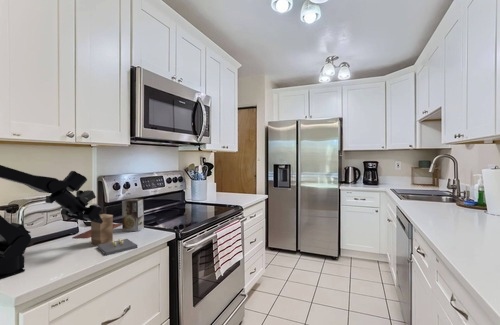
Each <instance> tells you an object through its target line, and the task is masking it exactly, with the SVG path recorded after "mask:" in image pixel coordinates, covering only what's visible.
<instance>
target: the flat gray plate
mask: <svg viewBox="0 0 500 325" xmlns="http://www.w3.org/2000/svg"><path fill="white" fill-rule="evenodd" d="M96 246H97V249H99V251H101V252H102V253H103V254H104V255H105V256H110V255H113V254H117V253H122V252H127V251H130V250H134V249H138V244H137V243H135V242H133V241H131V240H130V239H128V238H123V239H121V238H119V239H118V240H116V241H115V240H114V239H113V241H112V242H109V243H104V244H100V245H96Z"/></svg>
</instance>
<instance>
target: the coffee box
mask: <svg viewBox="0 0 500 325" xmlns="http://www.w3.org/2000/svg"><path fill="white" fill-rule="evenodd" d="M144 200H145V199H144V198H127V199H123V200H121V217H122V219H121V221H122V222H121V224H122V225H121V226H122V227H121V228H122V230H121V231H122V232H125V231H127V232H138V231H141V230H143V229H144V228H145V213H144V212H145V211H144V210H145V202H144Z"/></svg>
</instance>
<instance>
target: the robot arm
mask: <svg viewBox="0 0 500 325" xmlns="http://www.w3.org/2000/svg"><path fill="white" fill-rule="evenodd" d="M0 179H1V180H5V181H9V182H13V183H17V184H22V185H24V186H26V187H28V188H30V189H32V190H34V191H35V192H39V193H44V194H45V193H46V194H50V195H46V196H45V203H46V204H53V203H54V202H55V203H56V204H57V205H59V206H60V209H61V210H60V215H62V216H63V217H64V218H65V217H66V218H70V219H74V220H79V221H83V222H91V221H92V222H96V223H100V224H102V222H103V221H102V219H101V217H100V215H101V214H100V212H101V211H102V209H103V208H102V206H101V205H98V204H90V203H89V202H90V201H92V200H94V199H96V198H97V196H96V195H95V192H94V190H91V189H90V190H80V189H81V188H82V187H83V186H84V185H85V183H86V182H88V178H87V177H86V176H85V175H83V174H81V173H78V172H77V171H76V170H71V171H69V173H68V174H67V176H65V177H64V178H63V180H62V179H58V178H56V177H50V176H43V175H42V176H41V175H35V174H31V173H28V172H24V171H22V170H18V169H16V168H12V167H9V166H5V165H1V164H0ZM74 192H76V194H75V195H74V194H73V193H74ZM88 205H89V206H88ZM30 233H31V231H29V230H27V229H26V227H25V226H24V225H23V224H22V223H15V222H11V223H10V222H9V221H7V220H6V218H4V217H3V216H2V215H1V214H0V279H1V280H2V279H5V278H8V277H11V276H14V275H16V274H20V273H23V272H25V271H26V269H25V256H24V254H25V252H26V250H27V247H28V246H29V245H30V243H31V239H32V236H31V234H30Z"/></svg>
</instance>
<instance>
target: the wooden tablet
mask: <svg viewBox="0 0 500 325" xmlns="http://www.w3.org/2000/svg"><path fill="white" fill-rule="evenodd" d="M121 226H122V222H121V223H113V229H115V228H118V227H121ZM72 239H76V240H77V239H78V240H79V239H80V240H81V239H82V240H83V239H91V229H89V230H87V231H84V232H82V233H79V234H78V235H75V236H73V237H72Z"/></svg>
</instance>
